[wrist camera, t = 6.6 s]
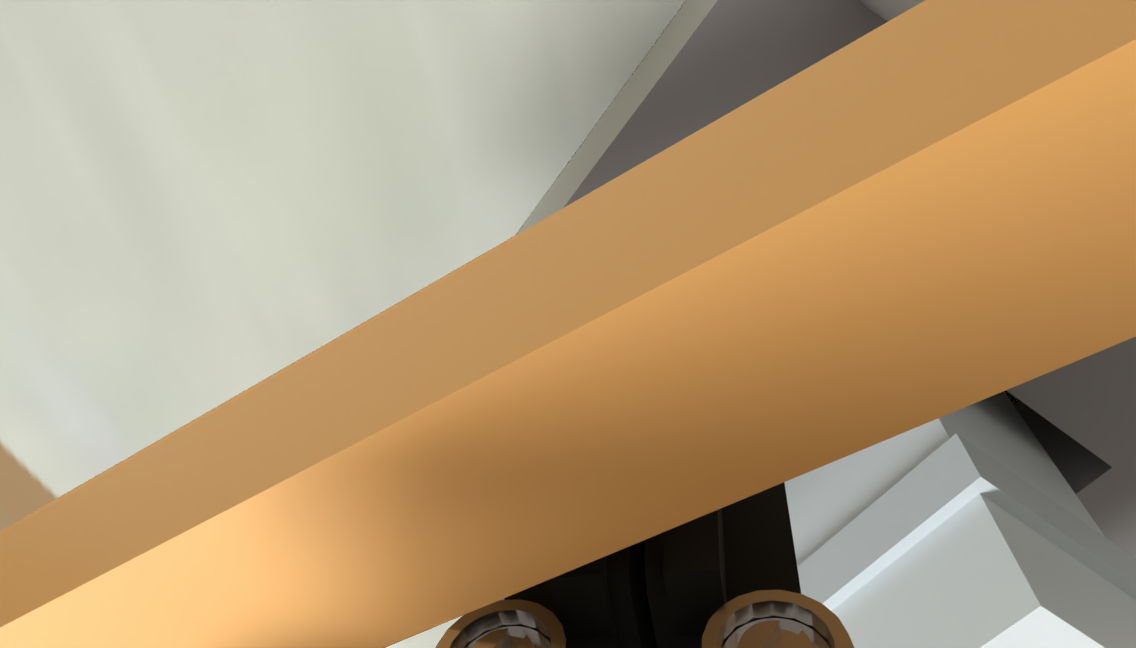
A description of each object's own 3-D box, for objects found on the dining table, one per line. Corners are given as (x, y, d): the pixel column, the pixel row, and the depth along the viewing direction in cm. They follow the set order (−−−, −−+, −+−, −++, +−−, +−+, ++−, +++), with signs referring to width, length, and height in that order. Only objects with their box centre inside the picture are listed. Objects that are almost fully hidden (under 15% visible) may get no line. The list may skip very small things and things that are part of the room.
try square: (967, -179, 13) (1646, -267, 4) (1021, -32, 14) (1670, 143, 5) (200, 305, 18) (-206, 715, 9) (276, 389, 19) (-30, 833, 10)
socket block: (1441, 287, 19) (1591, 367, 16) (852, 706, 28) (879, 811, 25) (861, -241, 15) (916, -268, 12) (374, 430, 24) (334, 514, 21)
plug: (1014, 382, 21) (1272, 739, 13) (871, 502, 24) (1010, 879, 15) (868, 276, 20) (1042, 587, 12) (733, 412, 23) (794, 761, 14)
